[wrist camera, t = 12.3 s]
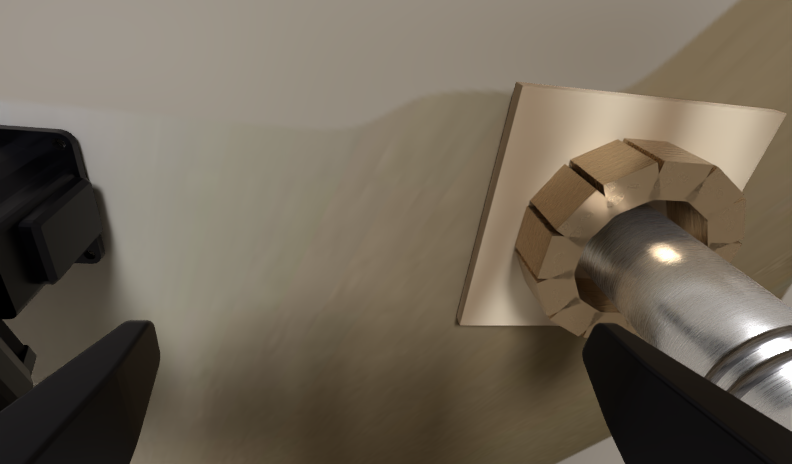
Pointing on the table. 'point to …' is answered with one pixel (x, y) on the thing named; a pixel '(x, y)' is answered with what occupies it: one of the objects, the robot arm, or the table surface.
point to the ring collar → (608, 196)
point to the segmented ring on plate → (552, 148)
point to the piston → (696, 307)
